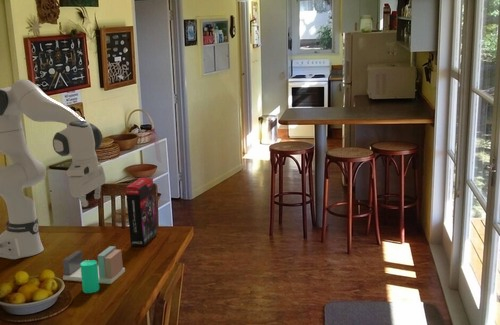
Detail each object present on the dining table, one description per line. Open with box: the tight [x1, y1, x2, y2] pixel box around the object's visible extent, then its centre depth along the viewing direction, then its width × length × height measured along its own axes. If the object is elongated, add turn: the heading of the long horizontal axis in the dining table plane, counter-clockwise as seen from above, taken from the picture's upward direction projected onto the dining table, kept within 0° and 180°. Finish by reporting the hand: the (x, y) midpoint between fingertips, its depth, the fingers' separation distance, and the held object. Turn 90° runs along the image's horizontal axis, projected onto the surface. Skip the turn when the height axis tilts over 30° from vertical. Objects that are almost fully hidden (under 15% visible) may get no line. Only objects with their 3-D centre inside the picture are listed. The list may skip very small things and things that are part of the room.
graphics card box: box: [125, 177, 158, 248], centre depth 266 cm, size 17×7×27 cm, turn 168°
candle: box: [80, 258, 100, 294], centre depth 218 cm, size 6×6×12 cm
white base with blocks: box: [62, 245, 126, 285], centre depth 231 cm, size 20×12×10 cm, turn 76°
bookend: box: [62, 250, 84, 276], centre depth 233 cm, size 2×10×6 cm, turn 166°
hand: (91, 202), depth 220 cm, fingers open, 8 cm apart
